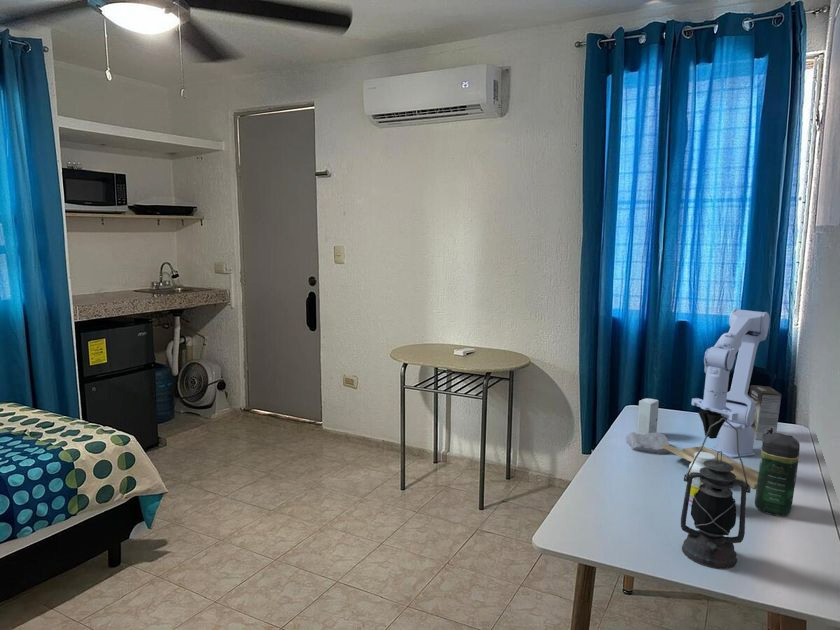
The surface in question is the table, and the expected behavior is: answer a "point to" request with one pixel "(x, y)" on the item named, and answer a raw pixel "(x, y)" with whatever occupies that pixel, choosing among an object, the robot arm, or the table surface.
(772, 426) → the coffee box
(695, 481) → the supplement bottle
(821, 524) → the table surface
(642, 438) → the stone block
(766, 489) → the coffee jar
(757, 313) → the robot arm
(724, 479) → the lantern
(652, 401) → the skincare box
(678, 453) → the board
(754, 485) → the laid floor row
